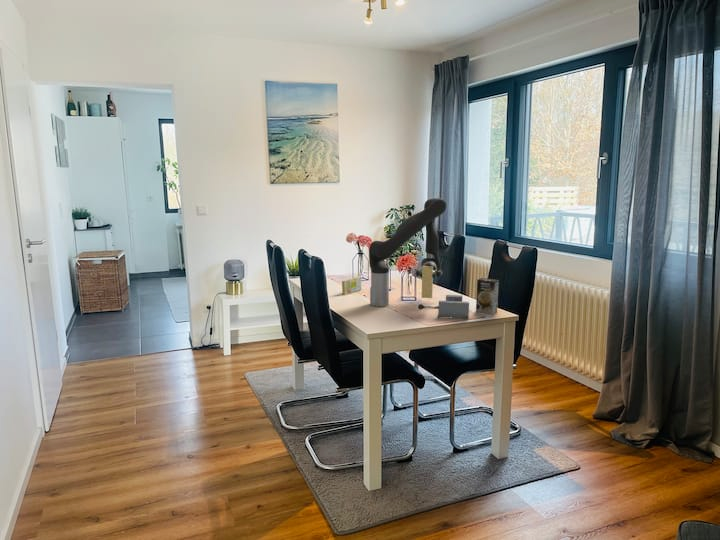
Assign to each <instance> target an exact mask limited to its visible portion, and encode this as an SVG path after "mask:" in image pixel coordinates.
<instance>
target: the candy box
mask: <svg viewBox="0 0 720 540" xmlns="http://www.w3.org/2000/svg"><path fill="white" fill-rule="evenodd" d="M341 289H342V291H341V292H342V294H341V295H342V296H347V295H350V294H354V293H357V291H358V292H361V291H362V276H356V277H352V278H349V279H344V280H342V281H341ZM360 290H361V291H360Z"/></svg>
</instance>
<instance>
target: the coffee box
mask: <svg viewBox="0 0 720 540" xmlns="http://www.w3.org/2000/svg"><path fill="white" fill-rule="evenodd" d="M476 281H477V282H476V302H475V304H476V305H475V312H478V313H482V314H483V313H484V314H489V315H490V314H492V315H494V314H495V313H497V312H498V305H499V304H498V303H499V301H498V299H499V285H500V280H499V279H493V278H485V277H484V278H483V277H481V278H478V279H476Z"/></svg>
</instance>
